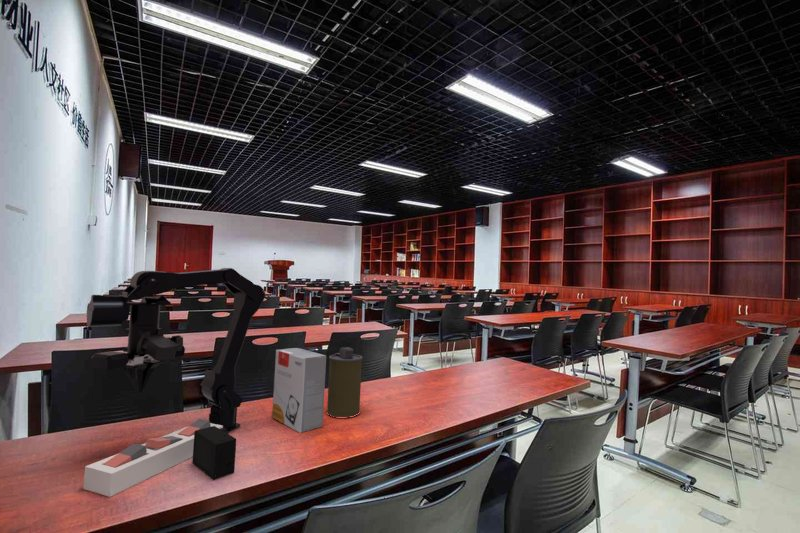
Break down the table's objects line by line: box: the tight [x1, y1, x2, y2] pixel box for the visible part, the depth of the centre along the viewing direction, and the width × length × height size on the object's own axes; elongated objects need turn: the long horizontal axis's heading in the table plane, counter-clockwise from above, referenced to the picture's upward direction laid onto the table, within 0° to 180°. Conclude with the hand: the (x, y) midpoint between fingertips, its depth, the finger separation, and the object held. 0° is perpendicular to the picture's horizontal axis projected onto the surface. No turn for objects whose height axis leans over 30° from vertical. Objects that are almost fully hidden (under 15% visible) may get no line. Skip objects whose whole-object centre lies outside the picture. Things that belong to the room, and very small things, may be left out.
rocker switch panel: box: [82, 423, 223, 498], centre depth 81 cm, size 29×7×4 cm, turn 161°
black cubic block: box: [191, 426, 237, 481], centre depth 79 cm, size 10×5×7 cm, turn 50°
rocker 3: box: [178, 418, 210, 437], centre depth 87 cm, size 6×3×1 cm, turn 162°
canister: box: [326, 346, 364, 417], centre depth 117 cm, size 11×10×20 cm
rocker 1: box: [103, 443, 147, 468], centre depth 72 cm, size 6×3×1 cm, turn 162°
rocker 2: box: [145, 436, 182, 449], centre depth 80 cm, size 6×3×1 cm, turn 161°
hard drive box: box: [271, 347, 327, 434], centre depth 107 cm, size 16×8×20 cm, turn 47°
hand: (139, 392), depth 86 cm, fingers closed
